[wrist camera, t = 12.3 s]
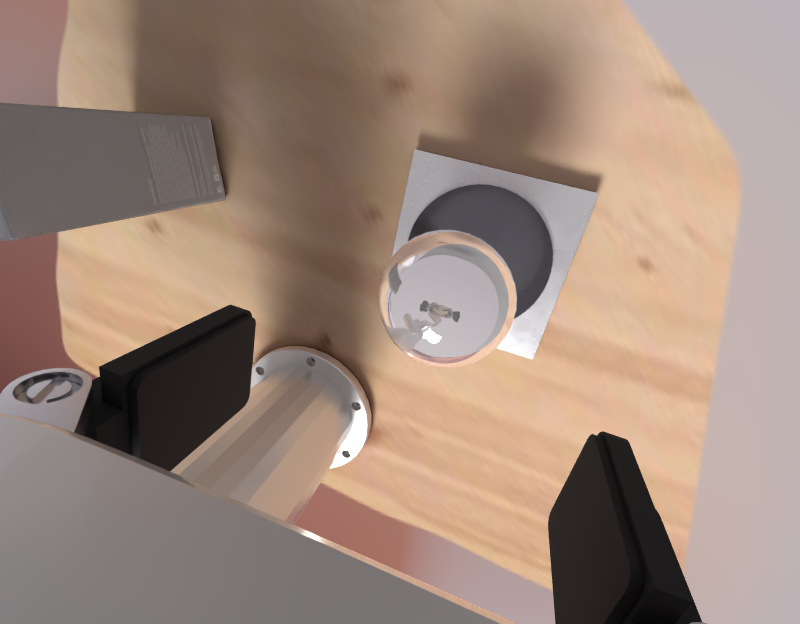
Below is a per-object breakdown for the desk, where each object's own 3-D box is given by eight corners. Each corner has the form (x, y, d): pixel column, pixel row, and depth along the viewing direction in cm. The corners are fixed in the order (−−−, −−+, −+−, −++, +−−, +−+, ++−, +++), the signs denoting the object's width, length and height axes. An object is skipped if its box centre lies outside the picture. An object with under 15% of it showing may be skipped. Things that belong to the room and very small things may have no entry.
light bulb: (422, 206, 28) (358, 232, 17) (527, 217, 26) (531, 254, 15) (414, 301, 30) (353, 378, 19) (508, 317, 28) (501, 410, 18)
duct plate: (532, 353, 30) (532, 361, 29) (383, 306, 32) (378, 312, 31) (596, 192, 26) (600, 193, 24) (417, 149, 28) (413, 148, 27)
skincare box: (214, 116, 31) (-51, 73, 17) (231, 211, 33) (13, 245, 19) (129, 125, 33) (-168, 94, 19) (150, 213, 36) (-98, 245, 21)
